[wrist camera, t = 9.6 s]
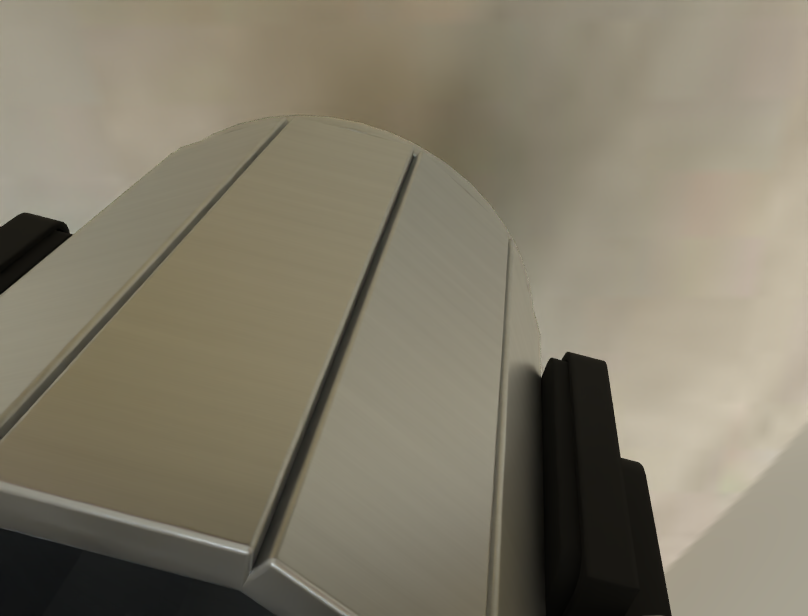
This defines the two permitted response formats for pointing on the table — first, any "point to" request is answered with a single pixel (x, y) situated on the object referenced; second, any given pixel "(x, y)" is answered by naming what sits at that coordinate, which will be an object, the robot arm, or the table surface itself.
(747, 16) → the table surface
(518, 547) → the steel cup
